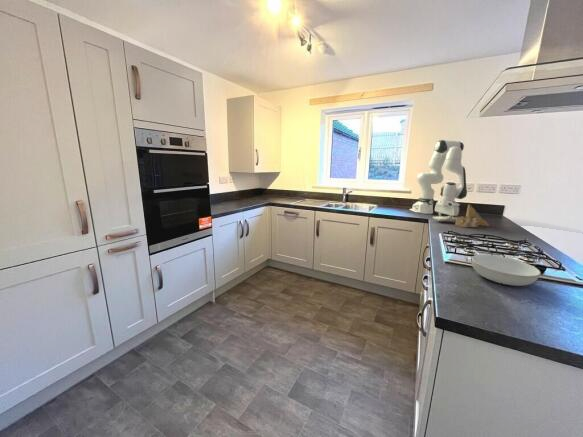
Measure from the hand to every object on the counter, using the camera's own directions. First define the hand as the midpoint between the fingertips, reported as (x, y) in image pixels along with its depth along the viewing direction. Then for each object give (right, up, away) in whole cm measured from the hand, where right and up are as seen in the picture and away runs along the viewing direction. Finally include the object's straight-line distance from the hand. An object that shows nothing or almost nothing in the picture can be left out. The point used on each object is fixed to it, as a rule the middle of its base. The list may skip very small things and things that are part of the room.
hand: (444, 219), depth 197 cm
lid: (0, 0, 0) cm, 0 cm away
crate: (+10, -5, -11) cm, 16 cm away
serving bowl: (-41, -25, -99) cm, 110 cm away
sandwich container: (+25, -4, -2) cm, 25 cm away
